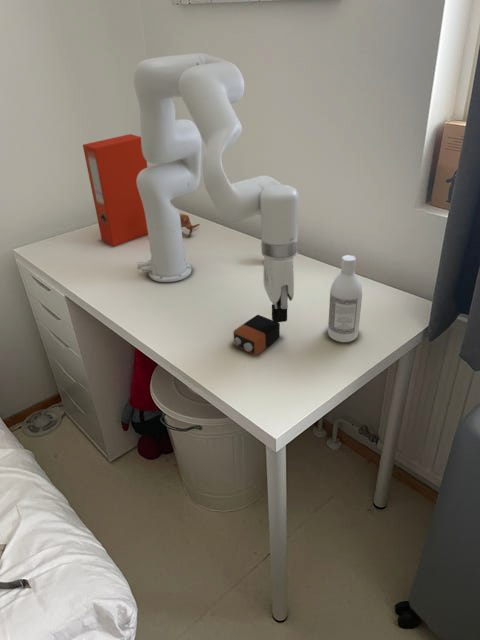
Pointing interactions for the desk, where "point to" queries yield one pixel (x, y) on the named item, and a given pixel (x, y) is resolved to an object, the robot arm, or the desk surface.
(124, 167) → the file binder
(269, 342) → the battery
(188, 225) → the cat figurine
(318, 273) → the desk surface
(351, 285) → the bath foam
